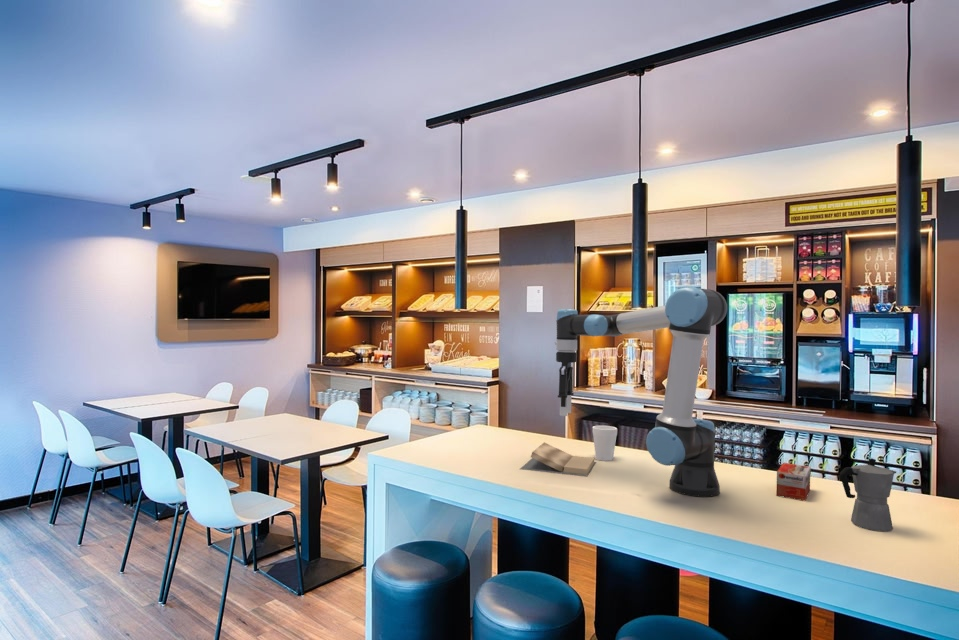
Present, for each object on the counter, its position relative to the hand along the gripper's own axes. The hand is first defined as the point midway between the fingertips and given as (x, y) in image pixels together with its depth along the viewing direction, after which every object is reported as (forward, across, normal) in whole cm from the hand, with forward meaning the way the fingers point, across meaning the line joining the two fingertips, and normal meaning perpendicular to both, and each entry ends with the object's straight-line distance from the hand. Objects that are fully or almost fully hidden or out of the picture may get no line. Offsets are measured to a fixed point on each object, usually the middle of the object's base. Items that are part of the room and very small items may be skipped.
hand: (565, 414), depth 201 cm
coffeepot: (+20, +25, +87) cm, 93 cm away
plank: (+17, 0, -5) cm, 18 cm away
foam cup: (+20, -18, +12) cm, 30 cm away
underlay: (+20, 0, -2) cm, 20 cm away
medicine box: (+20, -1, +74) cm, 77 cm away
